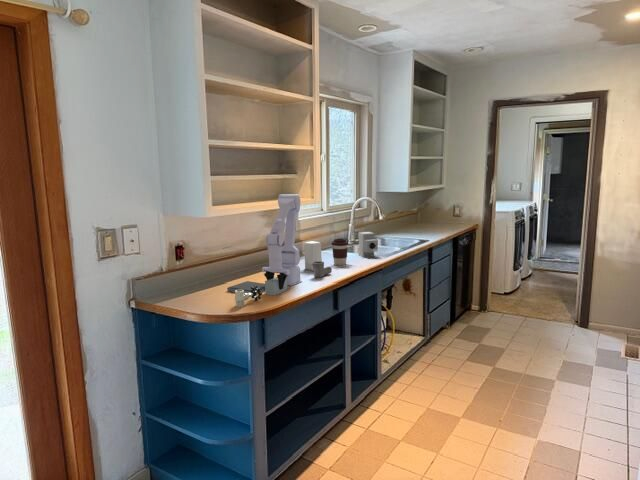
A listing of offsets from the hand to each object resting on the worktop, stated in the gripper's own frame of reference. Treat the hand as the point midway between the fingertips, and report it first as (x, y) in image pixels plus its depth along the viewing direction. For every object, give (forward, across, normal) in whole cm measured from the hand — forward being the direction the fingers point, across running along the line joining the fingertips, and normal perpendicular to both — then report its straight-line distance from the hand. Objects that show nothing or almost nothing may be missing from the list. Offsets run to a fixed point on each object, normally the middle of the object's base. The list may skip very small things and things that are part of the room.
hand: (276, 288), depth 204 cm
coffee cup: (+2, -4, +68) cm, 68 cm away
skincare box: (+2, -11, +49) cm, 50 cm away
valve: (+2, 0, -21) cm, 21 cm away
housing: (+2, 0, 0) cm, 2 cm away
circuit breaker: (+2, 0, +98) cm, 98 cm away
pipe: (+2, +2, +37) cm, 37 cm away
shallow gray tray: (+2, -14, -3) cm, 14 cm away
